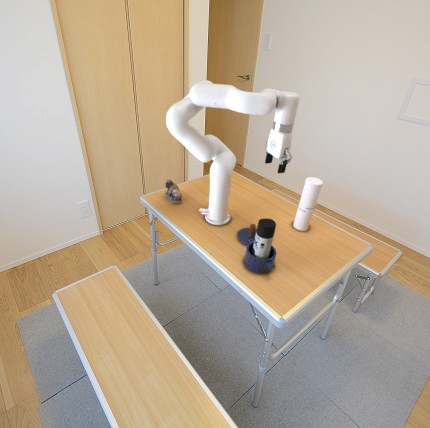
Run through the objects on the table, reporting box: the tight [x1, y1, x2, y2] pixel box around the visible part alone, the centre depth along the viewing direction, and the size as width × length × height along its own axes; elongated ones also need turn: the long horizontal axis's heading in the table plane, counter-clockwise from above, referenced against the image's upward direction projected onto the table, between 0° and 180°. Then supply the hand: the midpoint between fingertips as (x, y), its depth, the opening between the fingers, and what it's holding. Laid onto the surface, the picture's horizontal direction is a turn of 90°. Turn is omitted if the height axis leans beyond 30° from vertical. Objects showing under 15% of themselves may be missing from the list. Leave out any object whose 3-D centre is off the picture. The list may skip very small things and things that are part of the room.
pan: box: [244, 238, 277, 274], centre depth 112 cm, size 12×17×7 cm
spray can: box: [252, 217, 277, 259], centre depth 108 cm, size 7×7×20 cm
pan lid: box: [236, 223, 257, 246], centre depth 125 cm, size 13×13×7 cm
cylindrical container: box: [292, 176, 324, 232], centre depth 129 cm, size 7×7×25 cm
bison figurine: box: [164, 179, 183, 204], centre depth 147 cm, size 12×7×10 cm, turn 37°
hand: (274, 167), depth 116 cm, fingers open, 9 cm apart
